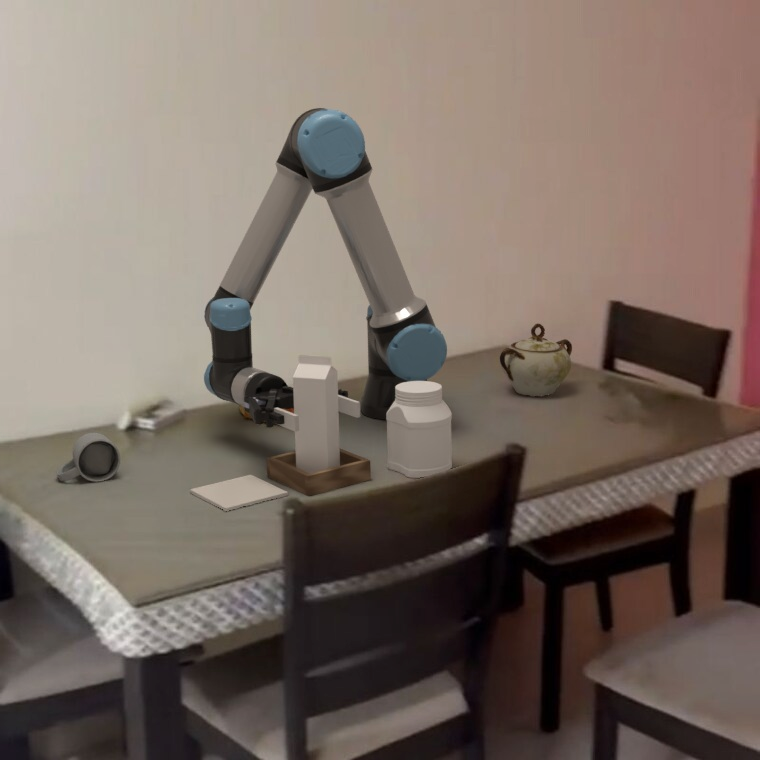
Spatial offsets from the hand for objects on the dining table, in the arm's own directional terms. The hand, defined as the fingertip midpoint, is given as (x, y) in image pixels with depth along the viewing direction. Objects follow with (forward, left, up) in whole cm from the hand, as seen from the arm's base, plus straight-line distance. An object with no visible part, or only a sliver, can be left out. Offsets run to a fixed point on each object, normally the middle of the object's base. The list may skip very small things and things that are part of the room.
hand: (328, 416), depth 213 cm
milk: (0, -4, -12) cm, 13 cm away
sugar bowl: (-69, -21, -12) cm, 73 cm away
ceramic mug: (+30, -31, -12) cm, 45 cm away
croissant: (-15, -43, -13) cm, 47 cm away
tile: (+15, -6, -12) cm, 20 cm away
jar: (-17, +3, -12) cm, 21 cm away
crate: (0, -4, -12) cm, 13 cm away
